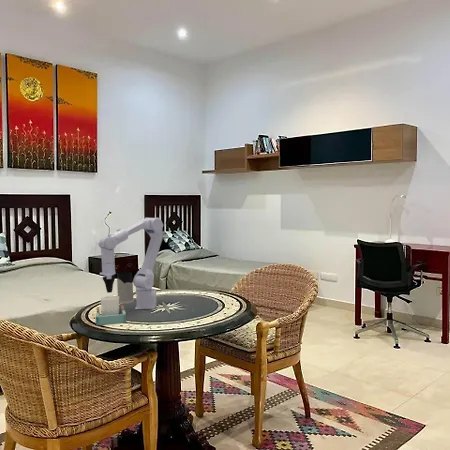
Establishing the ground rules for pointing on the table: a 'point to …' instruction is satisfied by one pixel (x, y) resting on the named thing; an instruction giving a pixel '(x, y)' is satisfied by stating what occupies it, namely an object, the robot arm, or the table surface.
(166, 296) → the table surface
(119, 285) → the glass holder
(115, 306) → the white cup
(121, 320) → the tray
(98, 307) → the holster cradle
